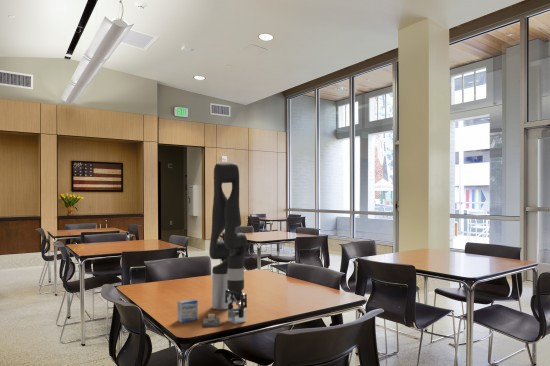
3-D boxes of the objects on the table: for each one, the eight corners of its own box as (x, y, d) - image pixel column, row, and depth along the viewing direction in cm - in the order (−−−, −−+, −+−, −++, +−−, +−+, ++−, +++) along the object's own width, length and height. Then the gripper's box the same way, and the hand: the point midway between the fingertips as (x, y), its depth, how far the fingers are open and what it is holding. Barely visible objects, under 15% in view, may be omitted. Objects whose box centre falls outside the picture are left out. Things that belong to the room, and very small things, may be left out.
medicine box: (181, 323, 170) (181, 303, 170) (177, 320, 173) (177, 301, 174) (197, 320, 174) (197, 300, 175) (193, 317, 178) (193, 298, 178)
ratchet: (203, 316, 179) (203, 307, 179) (219, 315, 180) (219, 307, 180) (203, 327, 164) (203, 317, 164) (219, 326, 165) (219, 316, 166)
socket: (227, 321, 172) (227, 309, 173) (238, 318, 176) (238, 307, 176) (234, 324, 168) (234, 312, 168) (245, 321, 172) (245, 310, 172)
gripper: (251, 279, 169) (251, 317, 168) (234, 275, 181) (234, 310, 179) (237, 281, 165) (237, 320, 164) (220, 277, 176) (220, 313, 175)
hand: (235, 315), depth 172 cm, fingers open, 8 cm apart
